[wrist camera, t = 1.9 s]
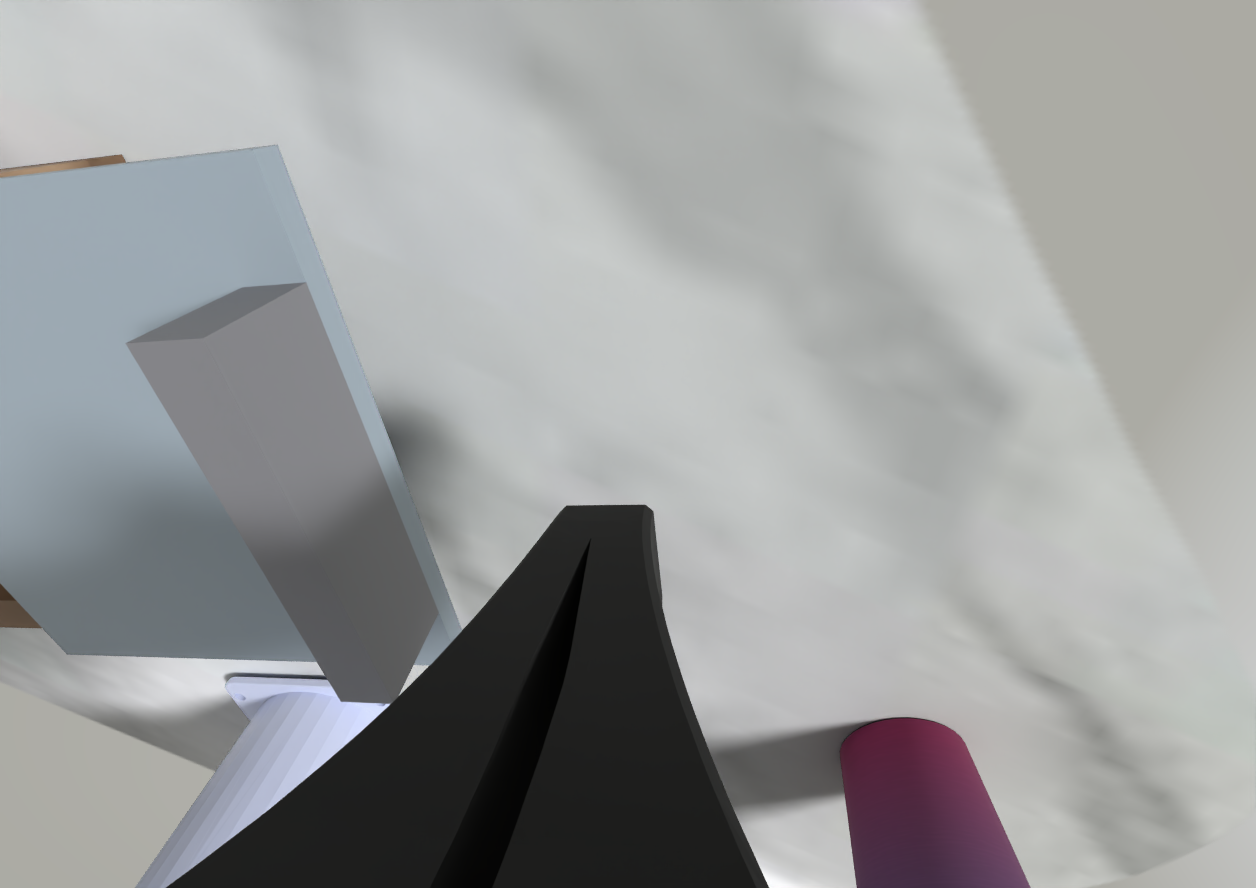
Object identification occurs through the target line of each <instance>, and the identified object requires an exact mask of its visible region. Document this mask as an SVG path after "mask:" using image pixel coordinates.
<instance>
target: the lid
mask: <svg viewBox="0 0 1256 888" xmlns="http://www.w3.org/2000/svg"><path fill="white" fill-rule="evenodd" d="M0 584H1V585H2V586H3V587H4V588H5V589H6V590H7V591H8V592H9V593H10V594H11V595H12V596H13V598H14V599H15V600H16V601H17V602H18V603H19V604H20V605H21V606H22V607H23V608H24V609H25V610H26V611H27V612H28V613H29V615H30V616H31V617H32V618H33V619H34V620H35V621H36V622H37V623H38V624H39V625H40V626H41V627H42V628H43V629H44V630H45V632H46V633H47V634H48V635H49V636H50V637H51V638H52V639H53V640H54V641H55V642H56V643H57V644H58V645H59V646H60V647H61V648H62V650H63V651H64V652H65V653H66V654H70V655H103V656H136V657H170V658H203V659H236V660H269V661H303V662H317V663H318V665H319V666H320V668H321V670H322V671H323V673H324V675H325V676H326V678H327V680H328V681H329V683H330V685H331V686H332V688H333V690H334V691H335V693H336V695H337V696H338V698H339V700H340V701H341V702H357V703H381V704H391V703H392V702H393V701H394V700H395V699H396V698H397V697H398V696H399V694H400V692H401V689H402V687H403V685H404V683H405V681H406V679H407V677H408V675H409V673H410V671H411V669H412V667H413V665H431V664H432V663H433V662H434V660H435V659H436V658H437V657H438V656H439V655H440V654H441V653H442V652H443V651H444V650H445V649H446V648H447V646H448V645H449V644H450V643H451V642H452V641H453V640H454V639H455V638H456V637H457V636H458V635H459V634H460V632H461V631H462V629H461V626H460V623H459V621H458V618H457V616H456V613H455V610H454V608H453V605H452V602H451V600H450V597H449V594H448V592H447V589H446V587H445V584H444V581H443V579H442V576H441V573H440V571H439V568H438V566H437V563H436V560H435V558H434V555H433V552H432V550H431V547H430V545H429V542H428V539H427V537H426V534H425V531H424V529H423V526H422V523H421V521H420V518H419V516H418V513H417V510H416V508H415V505H414V502H413V500H412V497H411V495H410V492H409V489H408V487H407V484H406V481H405V479H404V476H403V474H402V471H401V468H400V466H399V463H398V460H397V458H396V455H395V452H394V450H393V447H392V445H391V442H390V439H389V437H388V434H387V431H386V429H385V426H384V424H383V421H382V418H381V416H380V413H379V410H378V408H377V405H376V403H375V400H374V397H373V395H372V392H371V389H370V387H369V384H368V381H367V379H366V376H365V374H364V371H363V368H362V366H361V363H360V360H359V358H358V355H357V353H356V350H355V347H354V345H353V342H352V339H351V337H350V334H349V332H348V329H347V326H346V324H345V321H344V318H343V316H342V313H341V310H340V308H339V305H338V303H337V300H336V297H335V295H334V292H333V289H332V287H331V284H330V282H329V279H328V276H327V274H326V271H325V268H324V266H323V263H322V261H321V258H320V255H319V253H318V250H317V247H316V245H315V242H314V239H313V237H312V234H311V232H310V229H309V226H308V224H307V221H306V218H305V216H304V213H303V211H302V208H301V205H300V203H299V200H298V197H297V195H296V192H295V190H294V187H293V184H292V182H291V179H290V176H289V174H288V171H287V168H286V166H285V163H284V161H283V158H282V155H281V153H280V150H279V147H278V145H272V146H263V147H255V148H246V149H238V150H229V151H221V152H213V153H204V154H196V155H187V156H179V157H170V158H162V159H153V160H145V161H136V162H128V163H120V164H111V165H103V166H94V167H86V168H77V169H69V170H60V171H52V172H43V173H35V174H26V175H18V176H10V177H1V178H0Z"/></svg>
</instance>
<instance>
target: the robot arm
mask: <svg viewBox="0 0 1256 888" xmlns="http://www.w3.org/2000/svg"><path fill="white" fill-rule="evenodd" d="M225 688H226V690H227V692H228V693H229V694H230V696H231V697H232V698H233V699H234V701H235V702H236V703H237V705H238V706H239V707H240V709H241V710H242V711H243V713H244V714H245V715H246V717H247V718H248V719H249V721H250V723H249V724H248V726H247V727H246V728H245V730H244V731H243V733H242V734H241V736H240V737H239V739H238V740H237V741H236V743H235V744H234V746H233V747H232V749H231V750H230V752H229V753H228V754H227V756H226V757H225V759H224V760H223V762H222V763H221V764H220V766H219V767H218V769H217V770H216V772H215V773H214V775H213V776H212V778H211V779H210V780H209V782H208V783H207V785H206V786H205V788H204V789H203V790H202V792H201V793H200V795H199V796H198V798H197V799H196V801H195V802H194V803H193V805H192V806H191V808H190V809H189V811H188V812H187V813H186V815H185V817H184V818H183V819H182V821H181V822H180V823H179V825H178V827H177V828H176V829H175V831H174V832H173V834H172V835H171V836H170V838H169V839H168V841H167V842H166V844H165V845H164V847H163V848H162V850H161V851H160V852H159V854H158V855H157V857H156V858H155V859H154V861H153V862H152V864H151V865H150V867H149V868H148V870H147V871H146V872H145V874H144V875H143V877H142V878H141V880H140V881H139V883H138V884H137V886H136V887H135V888H769V887H768V885H767V882H766V880H765V878H764V876H763V874H762V871H761V869H760V867H759V865H758V863H757V860H756V858H755V856H754V854H753V852H752V849H751V847H750V845H749V843H748V841H747V838H746V836H745V834H744V832H743V830H742V827H741V825H740V823H739V821H738V819H737V816H736V814H735V812H734V810H733V808H732V805H731V803H730V801H729V798H728V796H727V794H726V791H725V789H724V786H723V784H722V781H721V779H720V777H719V774H718V772H717V769H716V767H715V764H714V762H713V759H712V757H711V755H710V752H709V749H708V747H707V744H706V742H705V739H704V736H703V734H702V731H701V729H700V726H699V723H698V721H697V718H696V715H695V713H694V710H693V707H692V704H691V701H690V699H689V696H688V693H687V690H686V687H685V684H684V681H683V678H682V675H681V672H680V669H679V665H678V662H677V659H676V656H675V653H674V649H673V646H672V643H671V639H670V636H669V632H668V629H667V625H666V621H665V617H664V613H663V609H662V589H661V580H660V570H659V561H658V552H657V542H656V533H655V524H654V514H653V511H652V510H651V509H650V508H649V507H647V506H646V505H583V506H566V507H565V508H564V509H563V510H562V511H561V512H560V513H559V514H558V515H557V517H556V518H555V519H554V521H553V522H552V523H551V524H550V526H549V527H548V528H547V530H546V531H545V532H544V533H543V535H542V536H541V537H540V539H539V540H538V541H537V543H536V544H535V545H534V546H533V548H532V549H531V550H530V551H529V553H528V554H527V555H526V556H525V558H524V559H523V560H522V561H521V563H520V564H519V565H518V566H517V568H516V569H515V570H514V571H513V573H512V574H511V575H510V576H509V577H508V579H507V580H506V581H505V582H504V583H503V584H502V586H501V587H500V588H499V589H498V590H497V592H496V593H495V594H494V595H493V596H492V597H491V599H490V600H489V601H488V602H487V603H486V605H485V606H484V607H483V608H482V609H481V610H480V612H479V613H478V614H477V615H476V616H475V617H474V618H473V619H472V621H471V622H470V623H469V624H468V625H467V626H466V627H465V628H464V629H463V630H462V631H461V632H460V634H459V635H458V636H457V637H456V638H455V639H454V640H453V641H452V642H451V643H450V644H449V645H448V646H447V648H446V649H445V650H444V651H443V652H442V653H441V654H440V655H439V656H438V657H437V658H436V659H435V660H434V662H433V663H432V664H431V665H430V666H429V667H428V668H427V669H426V670H425V671H424V672H423V673H422V674H421V675H420V676H419V677H418V678H417V679H416V680H415V681H414V682H413V683H412V684H411V685H410V686H409V687H408V688H407V689H406V690H405V691H404V692H403V693H402V694H401V695H399V696H398V697H397V698H396V699H395V700H394V701H393V702H392V703H391V704H381V703H357V702H341V701H340V700H339V698H338V696H337V695H336V693H335V691H334V690H333V688H332V686H331V685H330V683H329V681H328V680H321V679H292V678H264V677H231V678H230V679H229V680H228V681H227V683H226V684H225Z"/></svg>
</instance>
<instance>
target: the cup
mask: <svg viewBox="0 0 1256 888" xmlns="http://www.w3.org/2000/svg"><path fill="white" fill-rule="evenodd" d="M840 761H841V769H842V776H843V784H844V792H845V800H846V807H847V815H848V823H849V831H850V838H851V846H852V854H853V862H854V869H855V877H856V885H857V888H1030V885H1029V883H1028V881H1027V879H1026V877H1025V874H1024V872H1023V870H1022V868H1021V866H1020V863H1019V861H1018V859H1017V857H1016V855H1015V852H1014V850H1013V848H1012V846H1011V844H1010V841H1009V839H1008V837H1007V835H1006V833H1005V830H1004V828H1003V826H1002V824H1001V821H1000V819H999V817H998V815H997V813H996V810H995V808H994V806H993V804H992V802H991V799H990V797H989V795H988V793H987V791H986V788H985V786H984V784H983V782H982V780H981V777H980V775H979V773H978V771H977V769H976V766H975V764H974V762H973V760H972V758H971V755H970V753H969V751H968V749H967V746H966V744H965V742H964V741H963V739H962V738H961V737H960V736H959V735H958V734H957V733H956V732H955V731H953V730H952V729H950V728H948V727H946V726H944V725H941V724H939V723H936V722H932V721H927V720H923V719H912V718H897V719H889V720H883V721H879V722H875V723H871V724H869V725H866V726H864V727H861V728H860V729H858V730H856V731H855V732H853V733H852V734H851V735H850V736H848V737H847V738H846V740H845V741H844V742H843V744H842V746H841V749H840Z"/></svg>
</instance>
